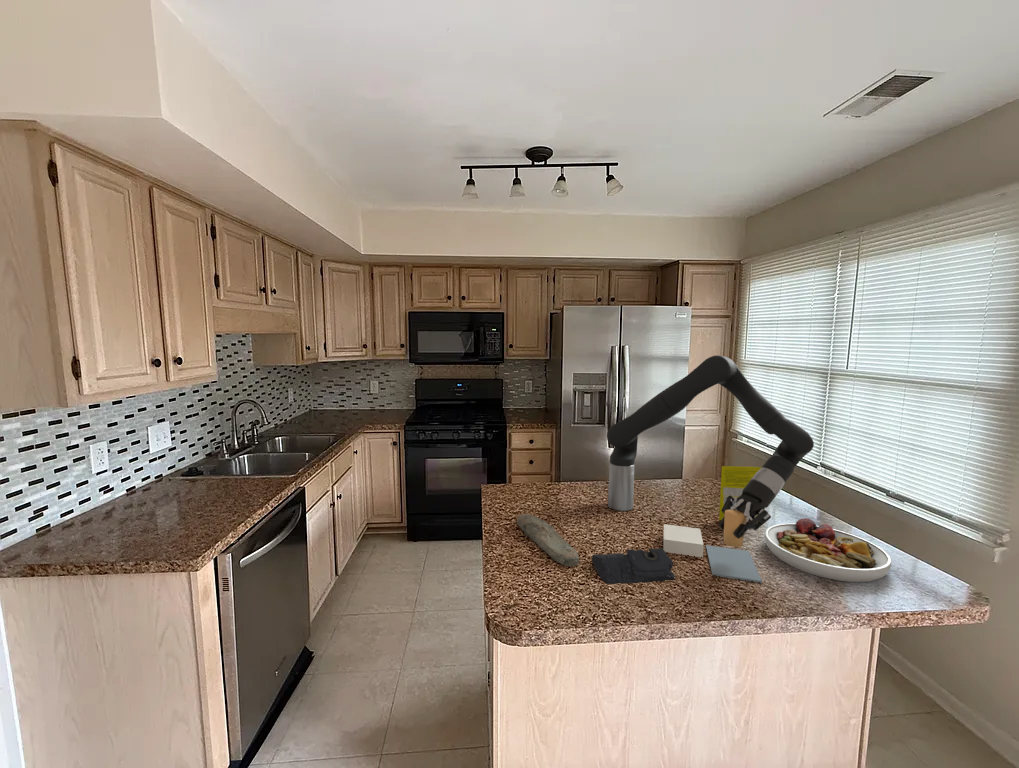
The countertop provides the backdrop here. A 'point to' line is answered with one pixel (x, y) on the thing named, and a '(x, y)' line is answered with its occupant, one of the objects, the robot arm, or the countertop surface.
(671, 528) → the white square block
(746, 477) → the food package
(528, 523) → the long grey stone
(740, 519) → the tan rounded cylinder
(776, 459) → the robot arm
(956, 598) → the countertop surface
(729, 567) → the mat
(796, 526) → the bowl
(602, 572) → the black flat bumpy piece
